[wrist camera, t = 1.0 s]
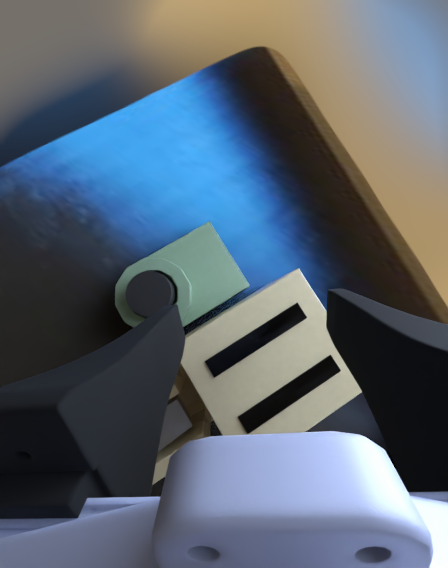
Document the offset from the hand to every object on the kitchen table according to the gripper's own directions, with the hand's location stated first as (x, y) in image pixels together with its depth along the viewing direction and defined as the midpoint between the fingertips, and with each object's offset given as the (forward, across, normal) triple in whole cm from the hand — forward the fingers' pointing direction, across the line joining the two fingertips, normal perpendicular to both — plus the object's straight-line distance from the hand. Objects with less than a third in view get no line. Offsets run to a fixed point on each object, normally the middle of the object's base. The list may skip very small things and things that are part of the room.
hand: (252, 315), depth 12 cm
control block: (+14, +6, +3) cm, 15 cm away
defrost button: (+10, +9, +3) cm, 14 cm away
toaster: (+11, 0, +10) cm, 15 cm away
